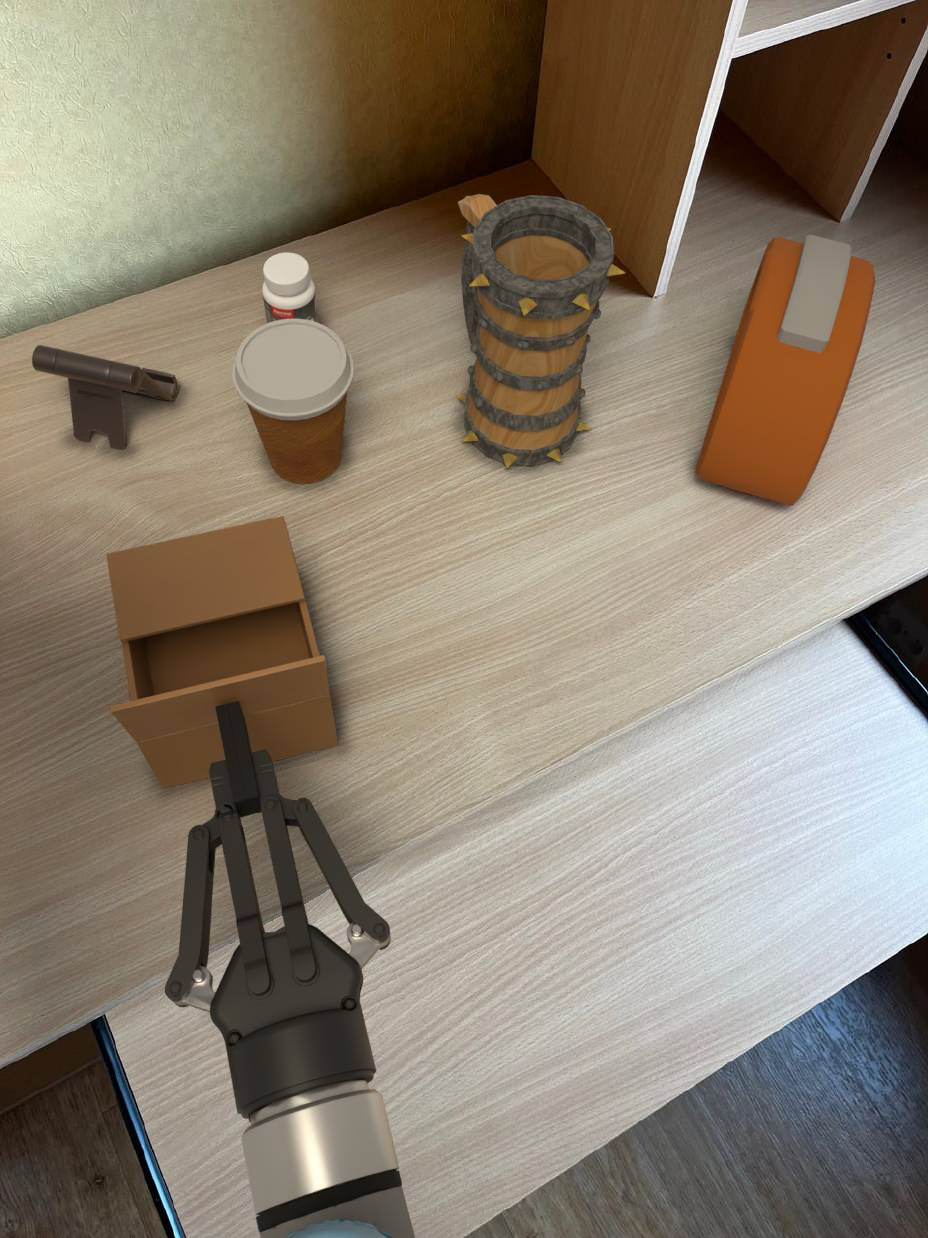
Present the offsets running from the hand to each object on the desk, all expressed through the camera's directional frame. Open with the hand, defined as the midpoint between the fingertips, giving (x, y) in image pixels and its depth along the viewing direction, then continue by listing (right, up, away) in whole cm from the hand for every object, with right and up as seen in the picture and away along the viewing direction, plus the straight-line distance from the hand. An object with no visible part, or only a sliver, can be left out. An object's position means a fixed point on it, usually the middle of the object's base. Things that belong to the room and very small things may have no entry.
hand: (230, 713), depth 67 cm
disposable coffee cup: (+1, +20, +26) cm, 33 cm away
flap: (0, +1, 0) cm, 1 cm away
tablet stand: (-16, +24, +27) cm, 40 cm away
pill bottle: (-1, +32, +33) cm, 46 cm away
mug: (+19, +25, +30) cm, 43 cm away
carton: (-3, +1, +14) cm, 15 cm away
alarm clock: (+42, +25, +30) cm, 57 cm away
